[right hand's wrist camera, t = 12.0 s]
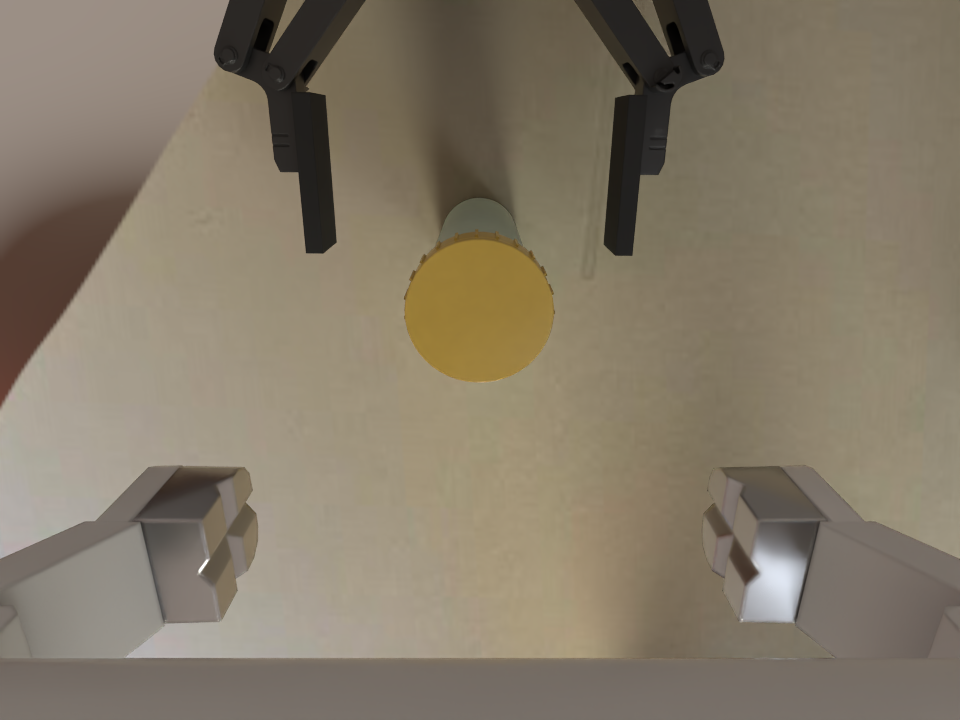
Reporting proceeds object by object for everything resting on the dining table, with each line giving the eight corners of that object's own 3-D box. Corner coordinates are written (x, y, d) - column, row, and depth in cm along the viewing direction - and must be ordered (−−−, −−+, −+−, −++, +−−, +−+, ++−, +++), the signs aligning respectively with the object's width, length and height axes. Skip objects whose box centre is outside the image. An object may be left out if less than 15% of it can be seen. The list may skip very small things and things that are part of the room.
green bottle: (429, 253, 35) (397, 338, 21) (460, 184, 34) (448, 226, 20) (496, 285, 36) (507, 386, 22) (529, 218, 34) (563, 281, 20)
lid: (385, 333, 22) (378, 348, 21) (442, 203, 21) (440, 209, 19) (511, 388, 23) (513, 407, 22) (576, 267, 21) (583, 278, 20)
